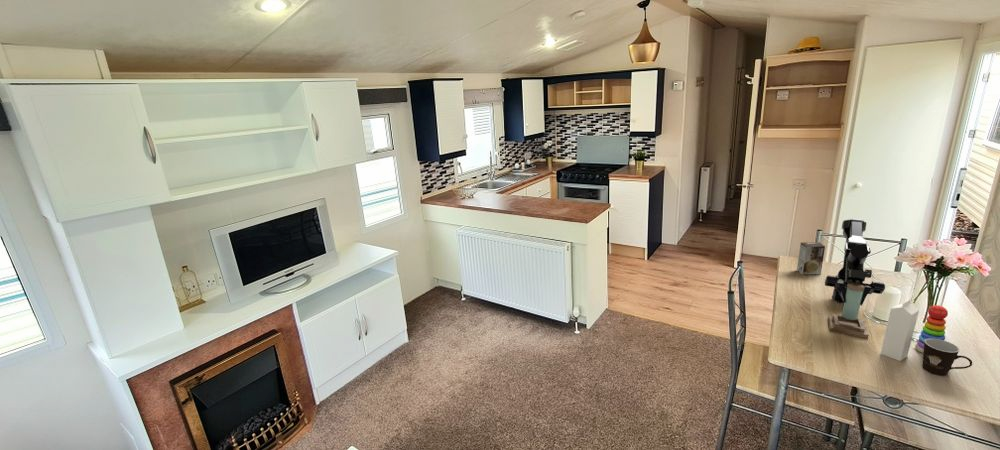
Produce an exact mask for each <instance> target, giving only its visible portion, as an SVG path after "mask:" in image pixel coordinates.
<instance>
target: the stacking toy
mask: <svg viewBox="0 0 1000 450" xmlns="http://www.w3.org/2000/svg"><path fill="white" fill-rule="evenodd" d="M927 312H928V315H929V316H927V317H926V321H925V322H924V325H923V326H922V330H921V332H920V334H919V336H918V339H917V341H916V343H915V345H914V347H915V349H916V351H917V352H920V353H922V354H923V352H924V340H925V339H929V338H933V339H940V340H944V341H946V331H945V330H946V323H947V321H946V318H947V317H948V315H949V314H948V313H949V312H948V309H946V307H944V306H943V305H938V304H937V305H936V304H935V305H931V306H930V307H929V308H928V309H927Z"/></svg>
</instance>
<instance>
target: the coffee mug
mask: <svg viewBox="0 0 1000 450" xmlns="http://www.w3.org/2000/svg"><path fill="white" fill-rule="evenodd" d="M959 352H960V347H958V346H957V345H955V344H954V343H953V342H952V343H951V342H949V341H947V340H945V341H944V340H940V339H933V338H929V339H925V340H924V352H923V353H922V363H921V365H922V366H921V367H922V369H923V370H924V371H926V372H928V373H929V374H932V375H935V376H941V377H943V376H947V375H948V374H949V371H951V370H963V369H968V368H971V367H972V366H973V361H972V360H971V359H970V358H969V357H967V356H965V355H958V354H959ZM959 358H961V359H966V360H967V361H969V365H965V366H953V364H954V362H955V360H959Z"/></svg>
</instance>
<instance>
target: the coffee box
mask: <svg viewBox="0 0 1000 450" xmlns="http://www.w3.org/2000/svg"><path fill="white" fill-rule="evenodd" d="M825 250H826V246H825V245H824V244H823V243H821V242H819V241H815V242H812V241H811V242H808V241H807V242H800V246H799V253H798V259H797V265H796V271H797V272H798V271H799V273H800V274H801V275H802V274H813V275H814V274H817V276H818V275H822V269H823V263H824V262H823V261H824V256H825Z"/></svg>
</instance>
